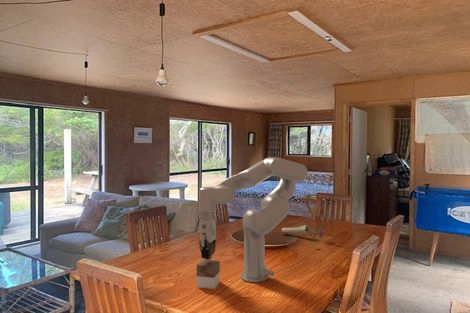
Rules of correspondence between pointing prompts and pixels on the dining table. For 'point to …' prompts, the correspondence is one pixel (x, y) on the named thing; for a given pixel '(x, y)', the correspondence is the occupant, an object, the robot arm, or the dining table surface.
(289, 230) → the flower vase
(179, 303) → the dining table surface
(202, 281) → the cream block
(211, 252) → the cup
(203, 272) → the walnut block
